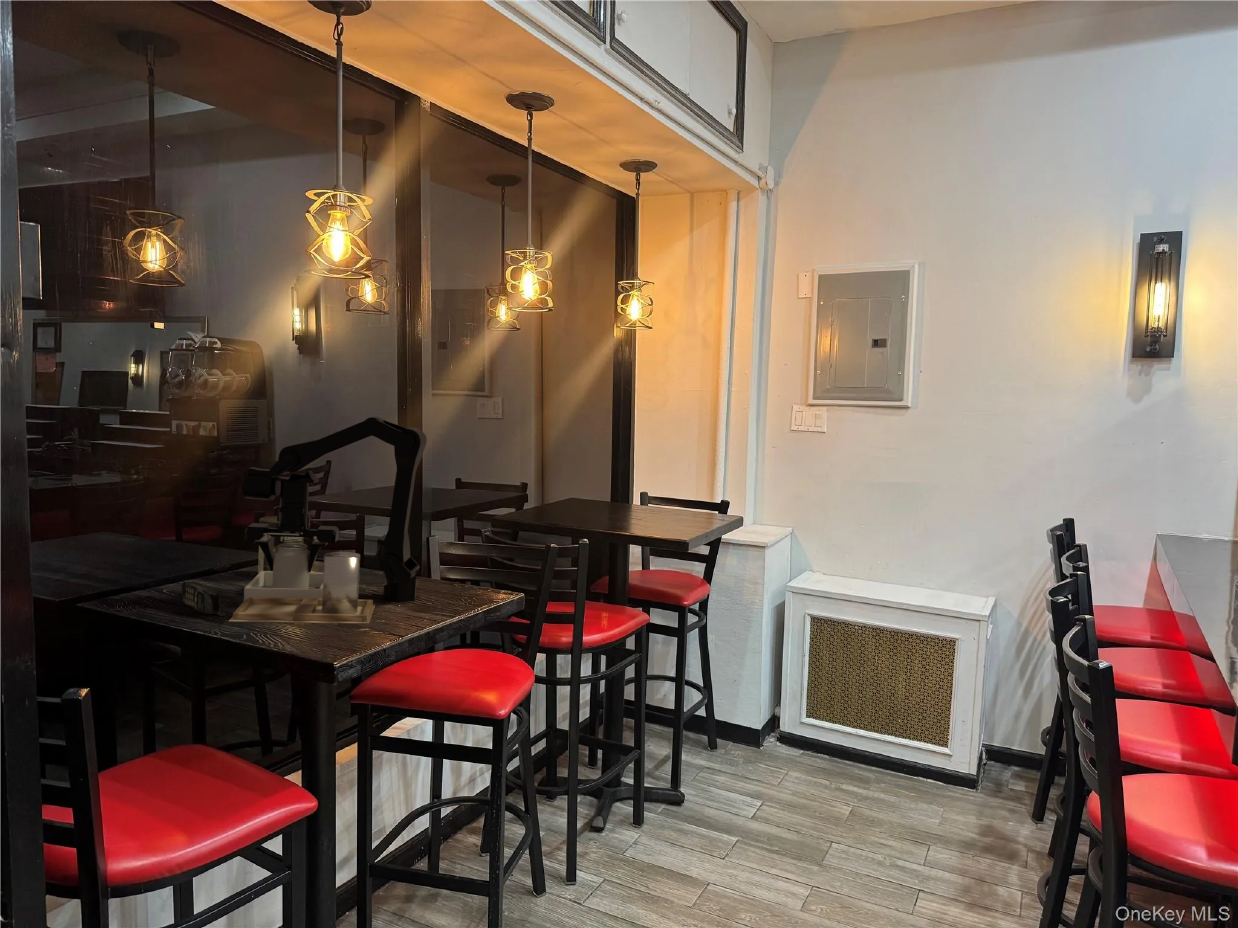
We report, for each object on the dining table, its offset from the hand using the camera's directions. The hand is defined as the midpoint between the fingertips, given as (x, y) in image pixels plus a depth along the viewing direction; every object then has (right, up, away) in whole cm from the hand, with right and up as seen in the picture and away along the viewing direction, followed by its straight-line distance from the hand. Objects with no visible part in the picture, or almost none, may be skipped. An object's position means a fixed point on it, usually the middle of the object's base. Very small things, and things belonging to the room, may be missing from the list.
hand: (291, 571), depth 179 cm
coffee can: (-10, -4, +19) cm, 22 cm away
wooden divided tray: (+9, -8, -14) cm, 18 cm away
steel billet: (+15, -7, -13) cm, 21 cm away
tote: (0, -6, +1) cm, 6 cm away
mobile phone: (-13, -7, -12) cm, 19 cm away
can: (0, -6, +1) cm, 6 cm away
